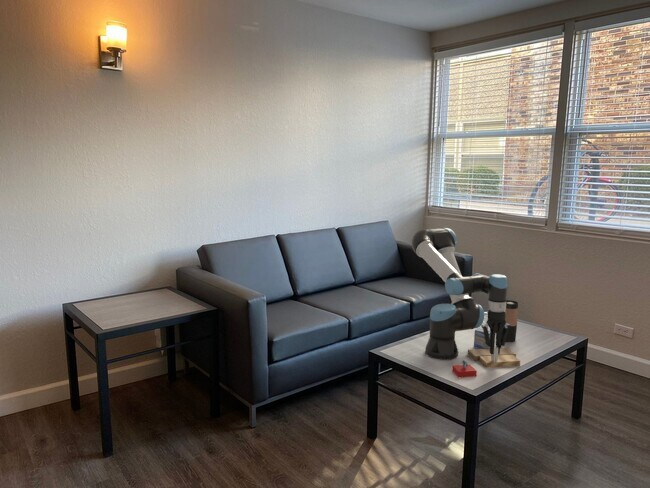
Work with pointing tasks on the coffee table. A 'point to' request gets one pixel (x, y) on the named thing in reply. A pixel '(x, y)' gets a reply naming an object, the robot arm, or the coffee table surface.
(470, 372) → the red rectangular block
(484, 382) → the coffee table surface
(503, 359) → the plank
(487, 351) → the laid strip
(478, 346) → the medicine box
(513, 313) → the travel mug
